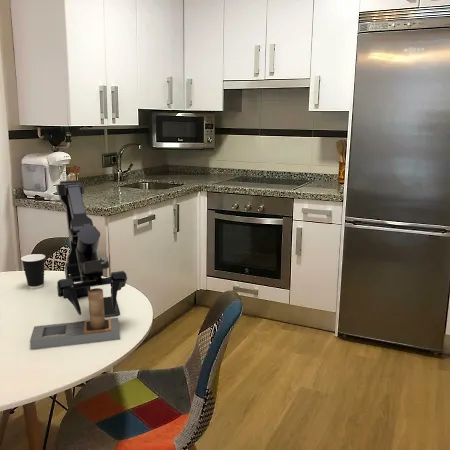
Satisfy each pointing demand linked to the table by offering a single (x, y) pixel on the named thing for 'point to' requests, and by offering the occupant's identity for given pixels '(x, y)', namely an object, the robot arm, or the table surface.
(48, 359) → the table surface
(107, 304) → the phone
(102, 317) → the peg
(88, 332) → the plate with square holes
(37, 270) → the dixie cup
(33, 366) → the table surface
